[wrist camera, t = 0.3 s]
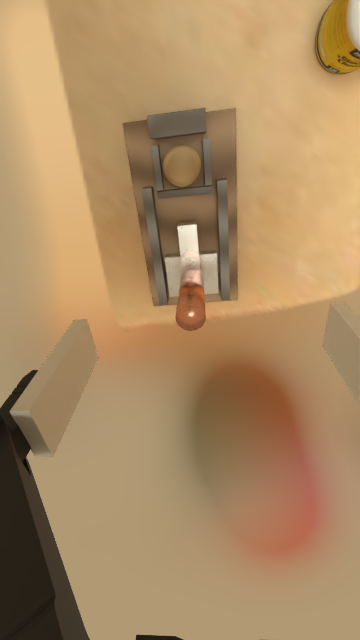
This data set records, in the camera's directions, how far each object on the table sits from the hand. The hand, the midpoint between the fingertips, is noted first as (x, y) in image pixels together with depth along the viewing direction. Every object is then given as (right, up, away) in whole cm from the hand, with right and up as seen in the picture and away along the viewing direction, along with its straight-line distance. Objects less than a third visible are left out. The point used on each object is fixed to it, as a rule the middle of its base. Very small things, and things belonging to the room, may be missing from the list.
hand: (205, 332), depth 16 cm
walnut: (-1, +20, +20) cm, 28 cm away
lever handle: (0, +9, +25) cm, 27 cm away
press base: (0, +14, +24) cm, 28 cm away
